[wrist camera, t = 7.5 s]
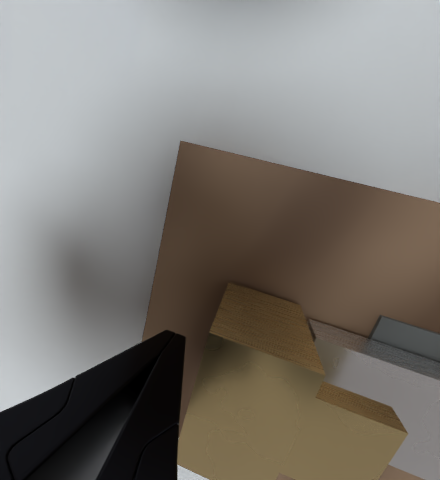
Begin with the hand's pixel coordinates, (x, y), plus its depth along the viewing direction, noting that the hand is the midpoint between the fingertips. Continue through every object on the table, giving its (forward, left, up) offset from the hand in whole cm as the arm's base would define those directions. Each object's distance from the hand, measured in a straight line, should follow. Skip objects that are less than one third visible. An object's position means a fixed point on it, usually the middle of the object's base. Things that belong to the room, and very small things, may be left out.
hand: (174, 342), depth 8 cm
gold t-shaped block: (-4, 0, -2) cm, 4 cm away
